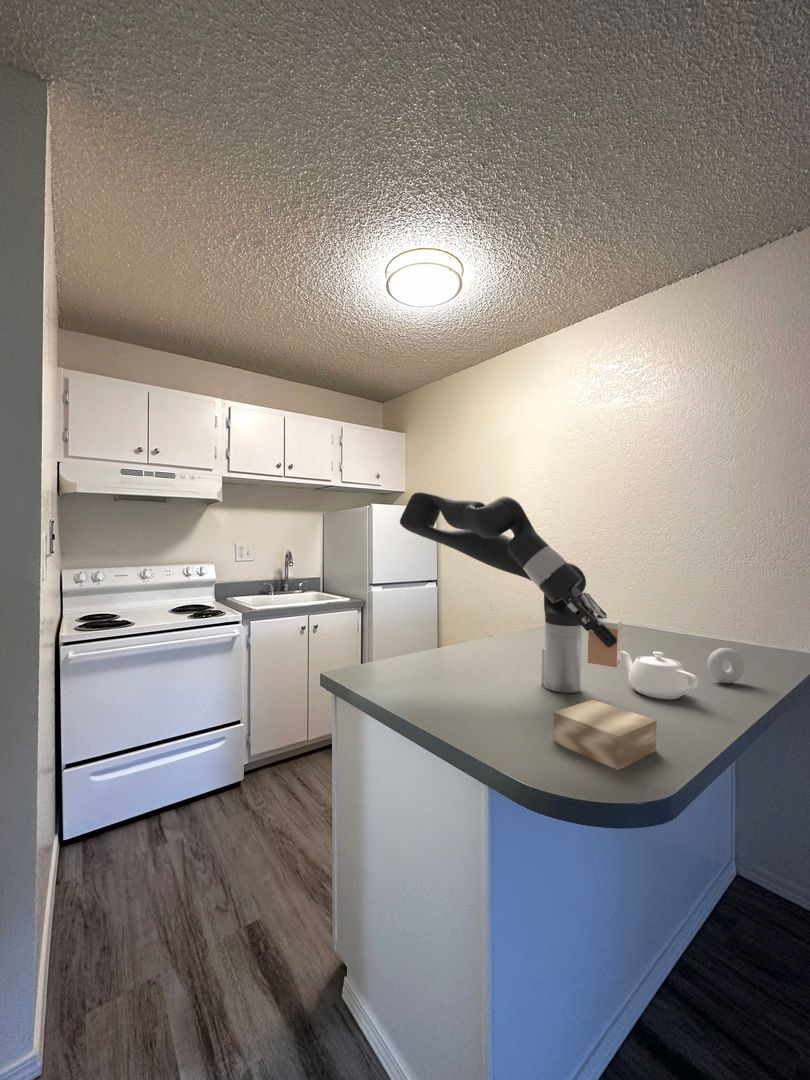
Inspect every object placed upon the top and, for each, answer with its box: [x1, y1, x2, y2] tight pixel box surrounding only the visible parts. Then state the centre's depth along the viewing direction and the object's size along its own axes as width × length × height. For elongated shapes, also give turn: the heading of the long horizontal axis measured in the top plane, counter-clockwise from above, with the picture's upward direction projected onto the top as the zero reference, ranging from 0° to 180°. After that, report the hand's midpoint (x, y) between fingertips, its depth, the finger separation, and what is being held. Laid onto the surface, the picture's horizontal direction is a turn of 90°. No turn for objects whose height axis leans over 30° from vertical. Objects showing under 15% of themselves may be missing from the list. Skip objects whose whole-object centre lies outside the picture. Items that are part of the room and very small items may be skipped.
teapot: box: [621, 650, 699, 700], centre depth 118 cm, size 22×14×11 cm, turn 24°
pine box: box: [552, 699, 658, 771], centre depth 85 cm, size 13×13×6 cm
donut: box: [706, 647, 746, 684], centre depth 127 cm, size 10×4×10 cm, turn 92°
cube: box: [587, 617, 622, 668], centre depth 86 cm, size 5×5×8 cm
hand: (615, 641), depth 85 cm, fingers closed on cube, 5 cm apart
